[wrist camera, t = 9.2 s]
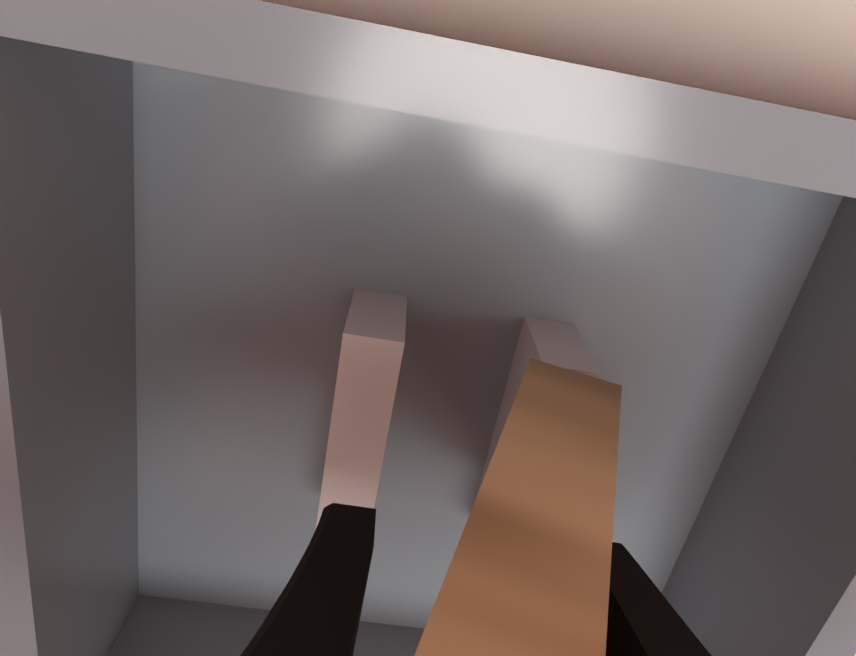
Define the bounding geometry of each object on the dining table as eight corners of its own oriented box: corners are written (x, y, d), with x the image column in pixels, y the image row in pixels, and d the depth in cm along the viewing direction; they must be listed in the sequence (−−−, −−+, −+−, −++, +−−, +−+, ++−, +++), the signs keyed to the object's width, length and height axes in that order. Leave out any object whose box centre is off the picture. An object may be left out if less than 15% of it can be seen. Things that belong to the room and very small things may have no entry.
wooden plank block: (556, 569, 12) (428, 1314, 5) (479, 541, 12) (249, 1200, 5) (622, 386, 10) (578, 1105, 3) (531, 358, 10) (299, 950, 3)
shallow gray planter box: (647, 660, 17) (718, 857, 13) (114, 597, 16) (8, 792, 12) (899, 129, 11) (1169, 182, 7) (92, -33, 10) (-128, -78, 6)
